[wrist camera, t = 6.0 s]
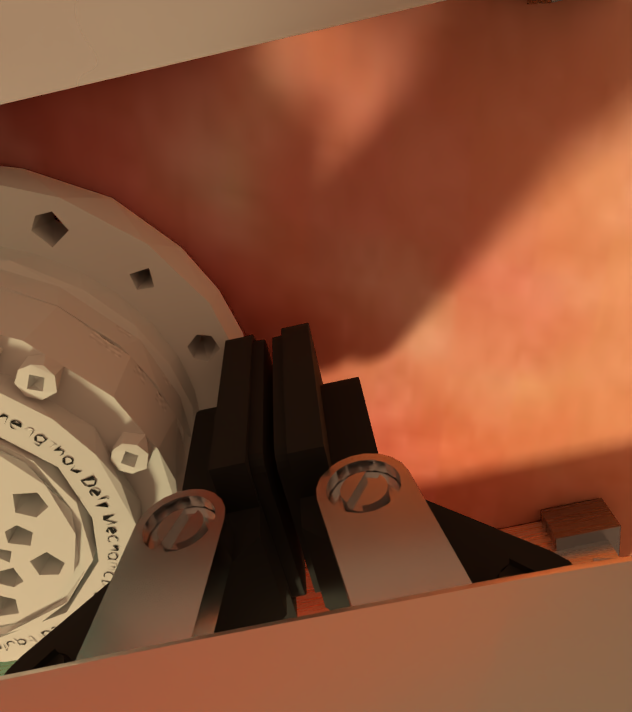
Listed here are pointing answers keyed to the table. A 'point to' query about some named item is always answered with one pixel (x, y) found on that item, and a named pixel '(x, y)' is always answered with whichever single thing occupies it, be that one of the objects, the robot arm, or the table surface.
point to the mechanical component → (90, 390)
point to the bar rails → (196, 40)
